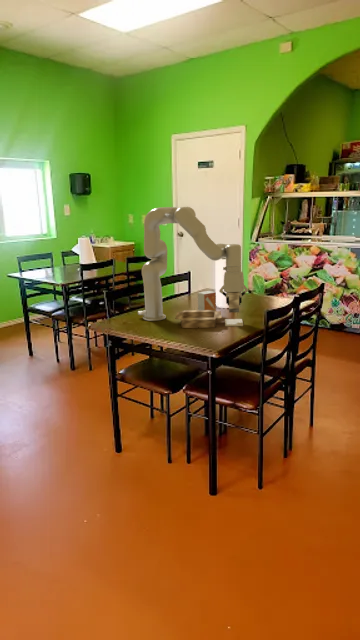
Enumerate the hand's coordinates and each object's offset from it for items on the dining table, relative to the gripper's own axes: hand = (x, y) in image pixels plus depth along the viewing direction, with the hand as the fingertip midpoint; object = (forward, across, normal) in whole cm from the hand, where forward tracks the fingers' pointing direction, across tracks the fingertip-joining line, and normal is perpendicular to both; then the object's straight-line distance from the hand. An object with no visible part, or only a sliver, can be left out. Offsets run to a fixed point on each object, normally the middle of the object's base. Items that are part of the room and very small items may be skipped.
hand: (233, 304), depth 222 cm
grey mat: (+10, 0, 0) cm, 10 cm away
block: (+3, 0, 0) cm, 3 cm away
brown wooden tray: (+10, -18, 0) cm, 21 cm away
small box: (+10, -14, +18) cm, 25 cm away
